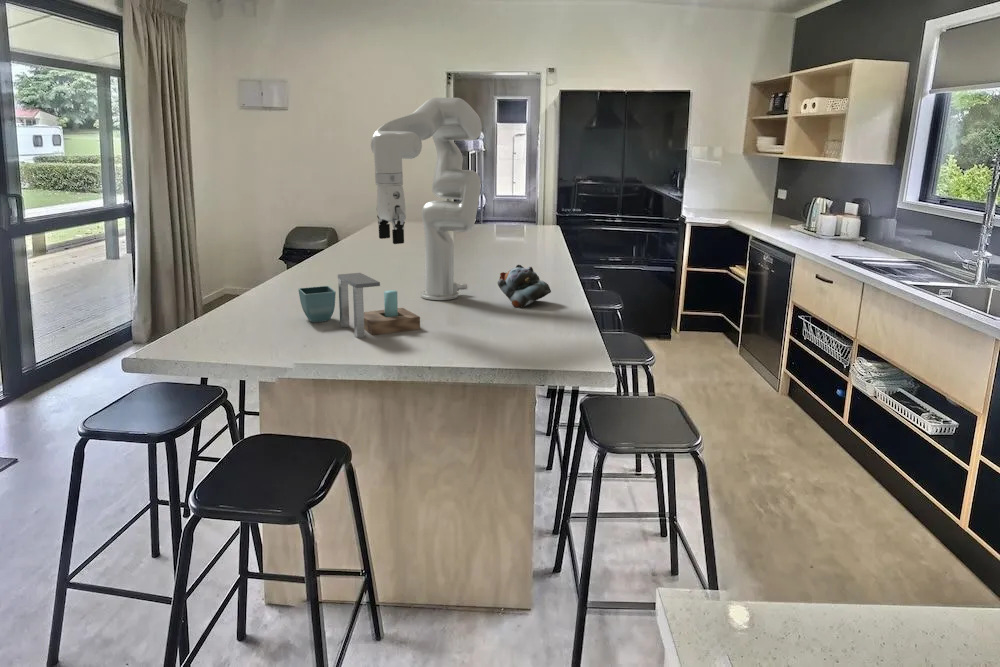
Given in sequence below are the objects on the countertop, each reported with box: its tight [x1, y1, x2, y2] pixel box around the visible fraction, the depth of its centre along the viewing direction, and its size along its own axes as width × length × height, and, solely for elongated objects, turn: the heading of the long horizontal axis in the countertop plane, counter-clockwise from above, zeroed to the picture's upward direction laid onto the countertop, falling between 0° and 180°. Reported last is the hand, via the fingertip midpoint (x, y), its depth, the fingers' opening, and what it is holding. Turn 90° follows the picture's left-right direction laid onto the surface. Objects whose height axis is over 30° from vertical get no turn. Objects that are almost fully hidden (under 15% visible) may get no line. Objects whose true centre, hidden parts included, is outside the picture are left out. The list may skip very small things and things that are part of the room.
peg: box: [383, 289, 399, 318], centre depth 199 cm, size 4×4×10 cm
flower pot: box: [297, 285, 336, 323], centre depth 204 cm, size 9×9×9 cm
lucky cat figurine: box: [497, 264, 552, 309], centre depth 230 cm, size 15×12×14 cm
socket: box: [364, 307, 421, 336], centre depth 199 cm, size 14×12×4 cm
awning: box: [337, 272, 381, 339], centre depth 193 cm, size 6×15×14 cm, turn 31°
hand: (391, 240), depth 202 cm, fingers open, 9 cm apart
